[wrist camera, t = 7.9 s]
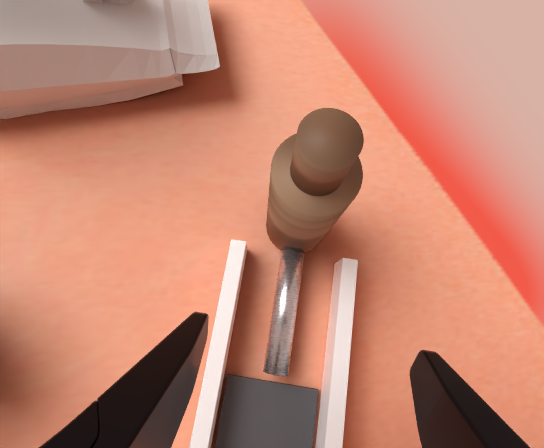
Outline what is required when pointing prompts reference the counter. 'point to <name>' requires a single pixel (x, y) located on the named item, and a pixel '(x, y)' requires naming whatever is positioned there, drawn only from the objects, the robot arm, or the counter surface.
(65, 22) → the iron
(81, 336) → the counter surface
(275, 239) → the walnut skittle
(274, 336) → the rod
